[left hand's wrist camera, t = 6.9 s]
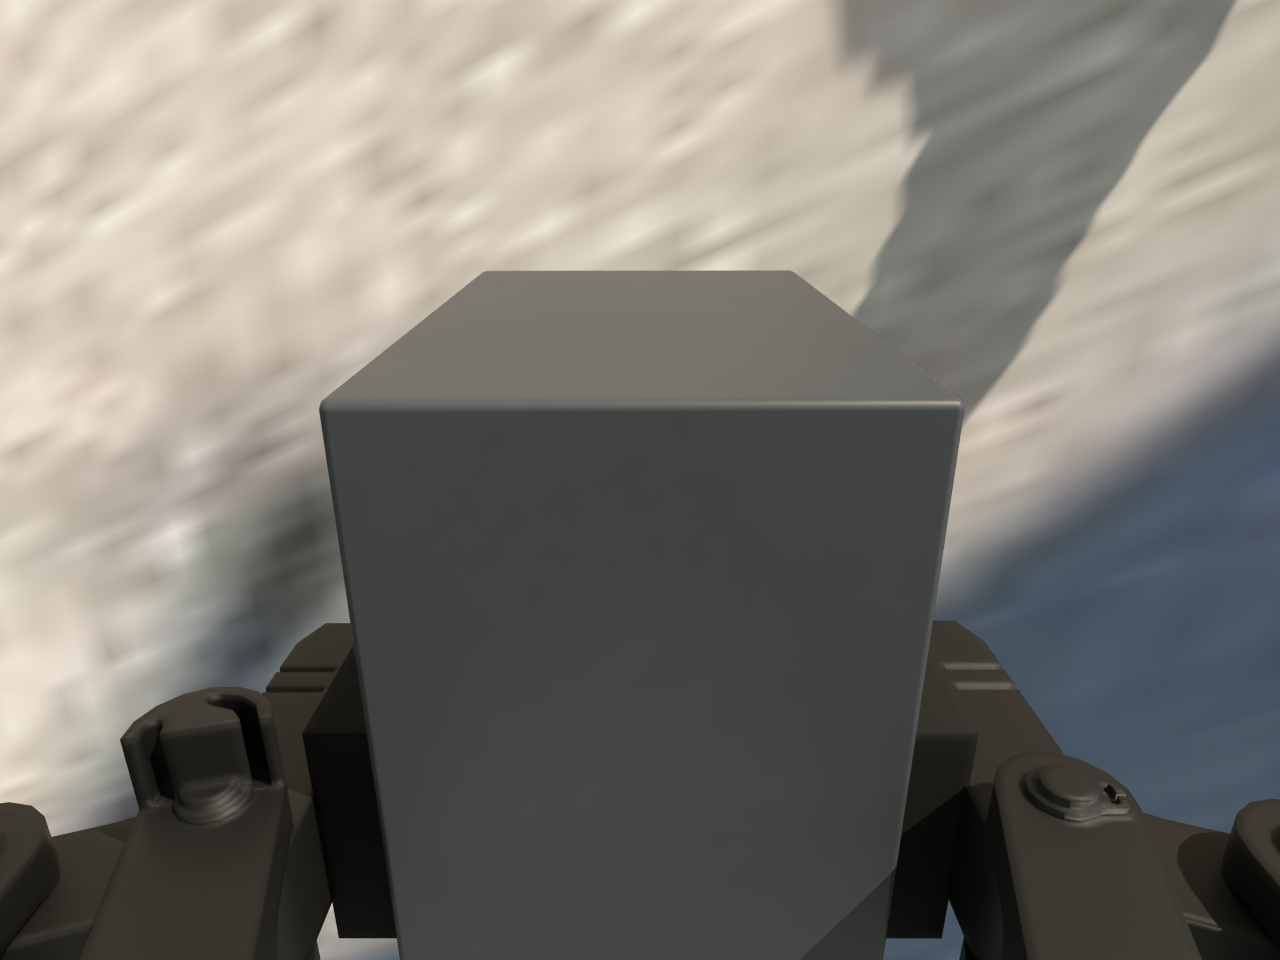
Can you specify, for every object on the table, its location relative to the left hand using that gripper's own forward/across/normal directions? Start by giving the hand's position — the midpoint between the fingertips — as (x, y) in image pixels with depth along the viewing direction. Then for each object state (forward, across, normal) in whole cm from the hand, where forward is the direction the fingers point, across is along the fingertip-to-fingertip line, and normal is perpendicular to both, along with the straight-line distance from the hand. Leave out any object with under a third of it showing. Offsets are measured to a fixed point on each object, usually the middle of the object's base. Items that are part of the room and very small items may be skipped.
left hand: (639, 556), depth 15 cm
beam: (+1, 0, -26) cm, 26 cm away
